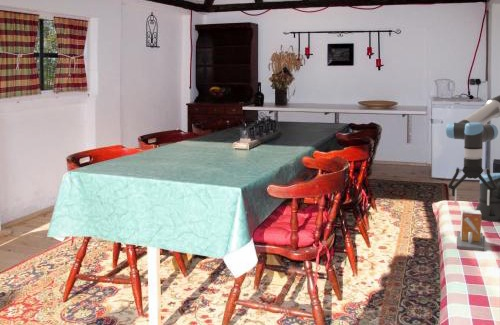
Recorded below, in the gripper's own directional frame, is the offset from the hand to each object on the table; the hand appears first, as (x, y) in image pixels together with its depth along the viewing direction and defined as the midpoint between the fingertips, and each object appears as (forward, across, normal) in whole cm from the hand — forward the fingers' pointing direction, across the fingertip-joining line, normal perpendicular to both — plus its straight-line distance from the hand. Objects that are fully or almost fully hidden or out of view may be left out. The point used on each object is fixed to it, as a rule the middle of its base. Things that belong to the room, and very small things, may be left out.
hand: (471, 204), depth 247 cm
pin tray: (+18, 0, 0) cm, 18 cm away
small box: (+17, 0, 0) cm, 17 cm away
